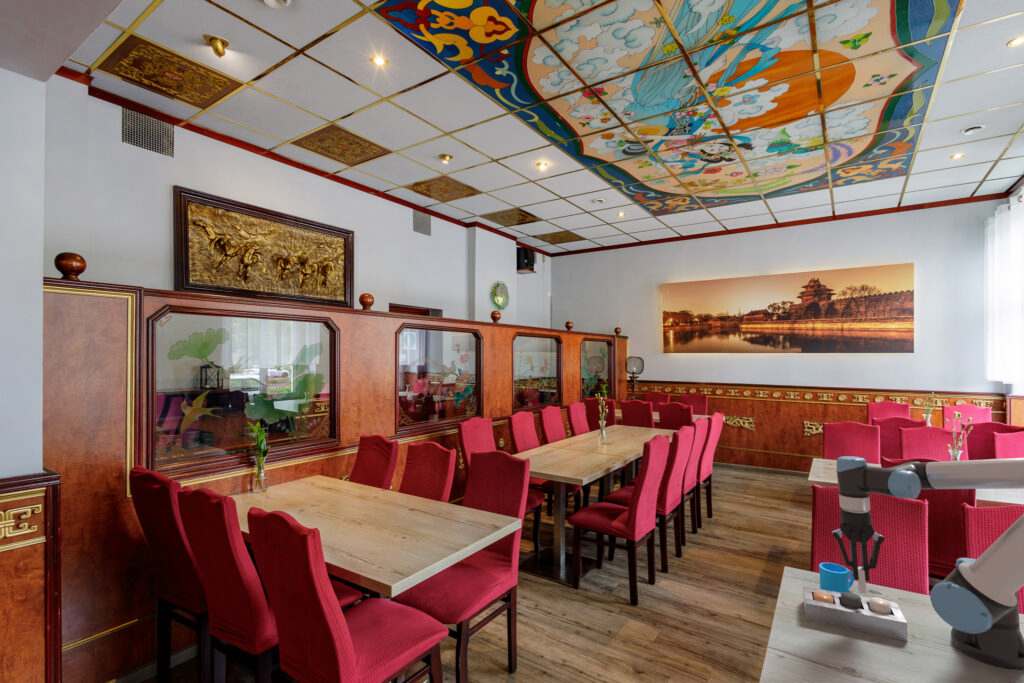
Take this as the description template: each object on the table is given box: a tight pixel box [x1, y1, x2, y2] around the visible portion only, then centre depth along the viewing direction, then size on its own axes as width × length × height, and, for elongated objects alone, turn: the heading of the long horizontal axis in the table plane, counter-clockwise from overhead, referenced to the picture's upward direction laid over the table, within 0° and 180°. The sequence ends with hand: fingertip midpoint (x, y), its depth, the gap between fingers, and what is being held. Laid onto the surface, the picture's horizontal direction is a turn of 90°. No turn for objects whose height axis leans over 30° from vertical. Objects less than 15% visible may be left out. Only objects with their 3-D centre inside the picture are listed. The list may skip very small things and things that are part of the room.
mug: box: [818, 562, 855, 593], centre depth 161 cm, size 12×8×8 cm
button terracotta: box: [814, 592, 833, 604], centre depth 147 cm, size 5×5×4 cm
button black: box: [841, 591, 862, 609], centre depth 144 cm, size 5×5×4 cm
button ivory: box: [868, 596, 891, 615], centre depth 140 cm, size 5×5×4 cm
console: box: [802, 585, 909, 642], centre depth 143 cm, size 24×12×5 cm, turn 62°
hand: (862, 590), depth 142 cm, fingers closed
